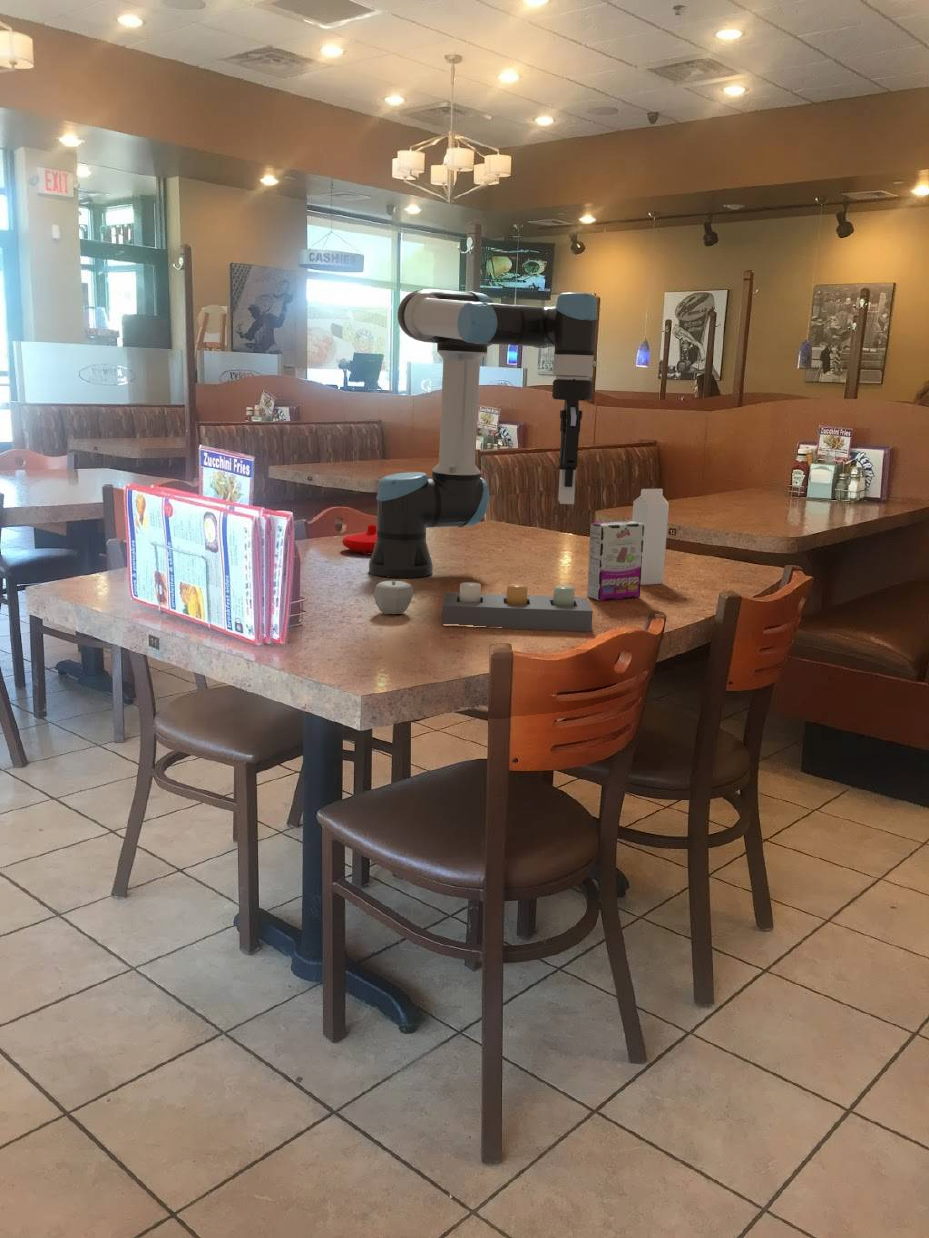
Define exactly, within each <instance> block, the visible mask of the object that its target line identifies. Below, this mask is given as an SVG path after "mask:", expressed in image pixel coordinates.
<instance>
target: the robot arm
mask: <svg viewBox="0 0 929 1238" xmlns="http://www.w3.org/2000/svg"><path fill="white" fill-rule="evenodd" d="M597 304H598V299H597V297H596V296H595V295H594V294H593V293H586V292H562V293H560V294H559V295H558V297H557V299H556V305H555V306H539V305H538V306H537V305H525V304H524V305H520V304H506V303H497V302H494V301H493V299H491V297H490V296H488V295H487V294H486V293H485V294H484V293H481V292H475V291H471V290H469V291H468V290H467V291H465V290H451V289H436V288H435V289H434V288H424V289H423V288H422V289H421V288H420V289H417V290H414V291H412V292H410V293H408V294H407V295H406V296H404V298H403V299H402V300H401V301H400V303H399V304H398V305H399V306H398V309H397V322H398V325H399V327H400V329H401V330H402V331H403V332H404V334H405V335H407V336H408V337H410V338H411V339H413V340H416V341H420V342H422V343H423V342H424V343H433V344H437V345H436V347H437V348H436V352H437V354H439V355H440V357H441V358H442V361H443V362H442V380H441V381H442V384H441V406H440V426H439V427H440V428H439V429H440V430H439V433H440V434H439V451H438V453H439V455H438V456H439V457H438V463H437V464H436V465H435V466H434V467H433V468H432V471H431V478H429V477H428V474H427V473H426V472H421V471H420V472H419V471H414V472H413V471H412V472H399V473H392V474H387V475H386V476H383V477H382V478H380V479H379V481H378V483H377V495H376V497H375V498H376V530H377V541H376V544H375V547H374V550H373V553H372V554H371V556H370V559H369V562H368V572H369V573H370V574H372V575H374V576H378V577H384V576H389V577H388V578H393V577H398V578H397V579H405V578H406V579H412V578H413V579H414V578H422V577H427V576H430V575H432V574H433V573H434V572H433V569H434V565H433V564H434V563H433V561H432V557H431V553H430V550H429V547H428V544H427V543H428V542H427V528H428V529H429V528H445V527H446V528H448V527H449V528H451V527H457V528H464V527H470V526H471V527H472V526H475V525H478V524H479V523H480V522H481V521H482V519H483V518H484V517H485V516H486V513H487V511H488V507H489V503H490V491H489V486H488V483H487V481H486V480H485V479H484V478H482V477H481V474H482V471H481V470H480V469H479V468H478V467H477V465H476V447H477V446H476V445H477V430H478V429H477V427H478V426H477V425H478V407H479V391H480V389H479V388H480V370H481V361H482V360H483V358H484V357H485V356H486V355H487V354H488V347H490V346H492V345H503V346H505V345H506V346H521V347H522V346H523V347H534V348H536V349H537V348H540V349H547V348H554V353H553V366H552V367H553V369H552V375H553V377H555V379H554V380H553V381H552V390H551V391H552V392H551V397H552V399H553V400H558V401H559V400H560V401H564V404H563V409H560V410H559V418H560V426H559V428H560V429H559V430H560V450H559V451H560V452H559V453H560V454H559V466H558V470H559V477H558V479H559V482H558V495H557V496H558V498H557V501H558V502H559V504H560V505H561V504H562V505H574V504H575V496H576V495H575V494H576V476H577V475H576V474H577V467H578V465H579V464H578V463H579V462H578V459H579V458H578V455H579V440H580V431H581V420H582V418H583V410H581V409H580V408H579V407H580V406H579V405H580V404H579V403H580V402H579V401H584V402H585V401H588V402H589V401H591V400H592V398H593V397H592V396H593V382H592V380H590V378H592V377H593V375H594V368H593V367H596V366H597V365H598V363H597V362H598V361H595V360H594V358H595V348H596V347H595V346H596V333H597V321H598V320H597V319H598V314H597V312H598V311H597V309H598V307H597Z"/></svg>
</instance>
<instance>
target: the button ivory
mask: <svg viewBox="0 0 929 1238" xmlns="http://www.w3.org/2000/svg"><path fill="white" fill-rule="evenodd" d="M481 588H482V585H481V583H478V582H468V581H467V582H460V583H459V593H460V601H459V602H468V603H480V595H481V594H482V593H481V591H482V590H481Z"/></svg>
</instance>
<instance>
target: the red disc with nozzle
mask: <svg viewBox="0 0 929 1238" xmlns="http://www.w3.org/2000/svg"><path fill="white" fill-rule="evenodd" d="M376 541H377V524H376V525H374V524H371V525H370V524H369V525H368V524H367V531H365V532H360V533H354V534H350V535H346V536H344V537H343V539H342V540H341V543H342V545H343V546H344V547H345V548H347V549H349V550H351V551H352V550H353V552H356V553H360V552H361V553H362V554H368V553H373V550H374V547H375V544H376Z"/></svg>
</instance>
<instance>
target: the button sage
mask: <svg viewBox="0 0 929 1238" xmlns="http://www.w3.org/2000/svg"><path fill="white" fill-rule="evenodd" d="M575 592H576V588H575V587H574V586H569V585H556V586H553V593H552V594H553V595H552V596H553V606H574V597H575Z"/></svg>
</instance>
